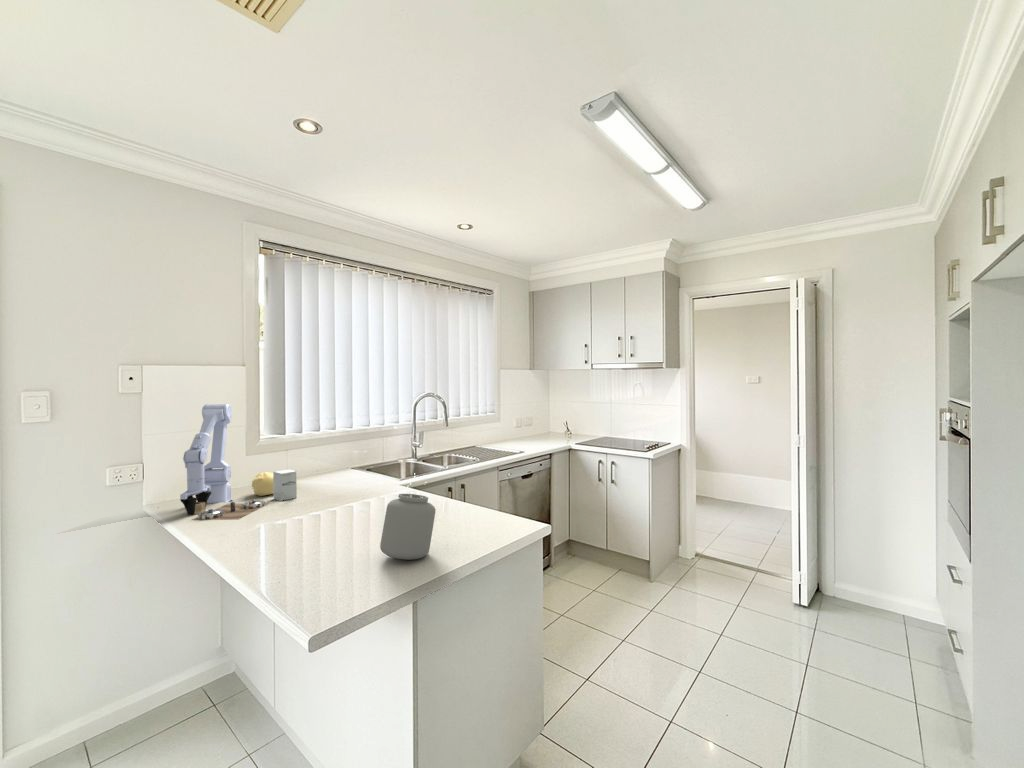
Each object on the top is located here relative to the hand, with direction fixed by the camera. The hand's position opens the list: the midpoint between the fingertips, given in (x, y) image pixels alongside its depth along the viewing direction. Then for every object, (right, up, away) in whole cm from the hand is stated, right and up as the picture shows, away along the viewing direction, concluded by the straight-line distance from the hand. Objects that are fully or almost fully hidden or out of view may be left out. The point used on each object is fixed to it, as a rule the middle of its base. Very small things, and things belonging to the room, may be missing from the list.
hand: (196, 512), depth 178 cm
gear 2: (+18, 0, +8) cm, 20 cm away
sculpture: (+10, -1, +33) cm, 35 cm away
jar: (+96, -1, -42) cm, 105 cm away
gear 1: (+10, 0, -5) cm, 11 cm away
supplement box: (+23, -1, +25) cm, 34 cm away
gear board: (+14, -1, +1) cm, 14 cm away
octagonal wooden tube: (0, -1, 0) cm, 1 cm away
